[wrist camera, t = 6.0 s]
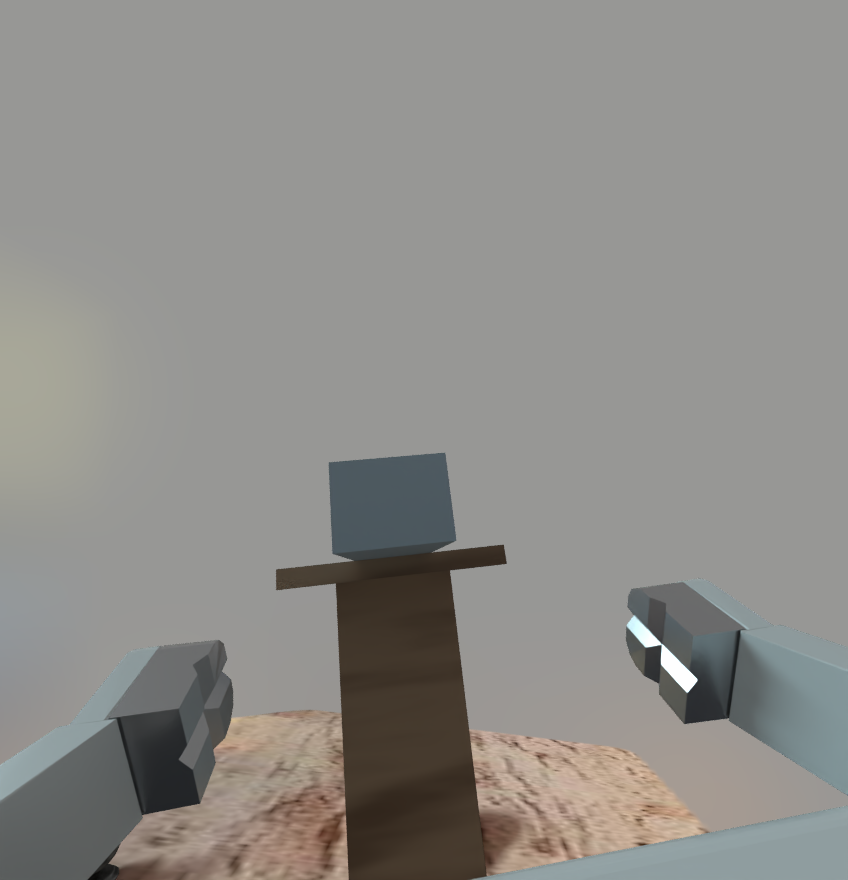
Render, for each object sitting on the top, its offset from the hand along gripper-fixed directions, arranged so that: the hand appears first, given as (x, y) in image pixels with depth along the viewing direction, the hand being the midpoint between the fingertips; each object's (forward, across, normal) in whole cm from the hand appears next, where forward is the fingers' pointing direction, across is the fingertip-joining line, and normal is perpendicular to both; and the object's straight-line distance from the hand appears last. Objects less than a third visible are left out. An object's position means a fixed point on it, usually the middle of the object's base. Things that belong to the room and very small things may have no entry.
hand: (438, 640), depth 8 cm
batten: (+16, -1, -7) cm, 17 cm away
